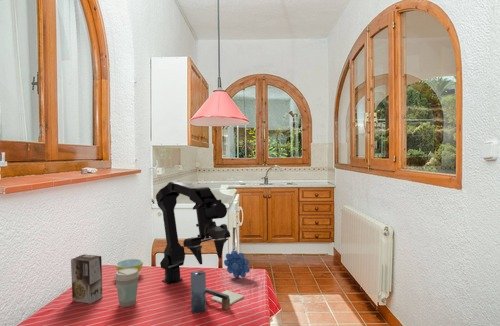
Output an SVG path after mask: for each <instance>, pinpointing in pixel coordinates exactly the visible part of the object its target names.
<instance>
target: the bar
mask: <svg viewBox="0 0 500 326" xmlns="http://www.w3.org/2000/svg"><path fill="white" fill-rule="evenodd" d="M206 294H209V295H211V296H213V297H214V296H217V297H220V298H223V299H225V300H228V299H229V295H226V294H223V293H222V292H220V291H216V290H214V289H211V288H207V287H206Z"/></svg>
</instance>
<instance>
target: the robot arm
mask: <svg viewBox="0 0 500 326" xmlns="http://www.w3.org/2000/svg"><path fill="white" fill-rule="evenodd" d="M180 195H183V196H185V197H188V198H189V201H191V202H193V203H194V206H193V207H192V210H193V211H194V210H195V211H196V219H197V223H196V224H195V226H196V227H197V228H198V233H199V234H197V236H195V237H194V236H193V237H188V238H184V239H183V245H182V244H180V242H179V238H178V237H179V236H178V229H177V223H176V222H177V221H176V214H175V207H176V205H177V202H178V201H177V198H178V197H179V196H180ZM155 200H156V204H157V207H158V208H159V209H160V210H161V211H162V217H163V226H164V231H165V239H166V245H165V248H164V250H163V255H164V257H162V259H161V261H160V263H159V265H160V268H161V269H163V270H164V278H163V279H162V280H161V282H163V283H166V284H169V285H174V284H177V283H178V282H181V281H183V280H184V279H183V277H181V269H180V268H181V266H184V263H185V258H186V253H185V252H186V251H185V248H186V249H189V250H190V251H191V253H192V254H193V256H194V257H195V259H196V260H197V262H198V264H199V265H203V256H202V248H203V245H201V244H202V243H205V242H208V241H211V240H213V242H214V243H213V244H214V246H215V251H216V254H217V257H218V259H222V257H223V256H222V255H223V250H224V245H225V243H226V242H227V241H228V240H229V238H231V233H230V230H228V224H226V223H222V224H220V225H217V223H216V221H215V219H218V220H219V219H224V218H225V217H226V216H227V214H228V208H227V206H226V204H224V203H223V202H222V199H217V197H216V196H215V195H214V193H213V191H212V190H211V187H208V186H193V185H190V184H187V183H184V182H181V181H179V180H174V181H169V182H168V183H167V184H166V185H165V186H163V187H162V188H160V189H159V191H158V192H157V193H156V195H155Z"/></svg>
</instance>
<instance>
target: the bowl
mask: <svg viewBox="0 0 500 326" xmlns="http://www.w3.org/2000/svg"><path fill="white" fill-rule="evenodd" d="M143 264H144V261H143V260H142V259H141V258H140V259H138V258H131V259H130V258H128V259H123V260H121V261H120V260H119V261H118V262H117V263H116V264H115V268H116V272H117V271H119V270H121V269H125V268H136V269H137V270H138V272H139V273H140V271H141V270H142V268H143Z"/></svg>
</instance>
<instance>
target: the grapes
mask: <svg viewBox="0 0 500 326" xmlns="http://www.w3.org/2000/svg"><path fill="white" fill-rule="evenodd" d="M225 258H226V259H225V260H224V261H223V264H224V265H225V267H226V271H227V273H229V274H232V276H233V277H234V278H240V277H241V278H245V277H246V275H247V274H248V273H250V271H251V269H250V267H249V264H250V261H249V259H247V258H245V255H244V253H242V252H237V250H232V251H231V252H228V253H226V254H225Z"/></svg>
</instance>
